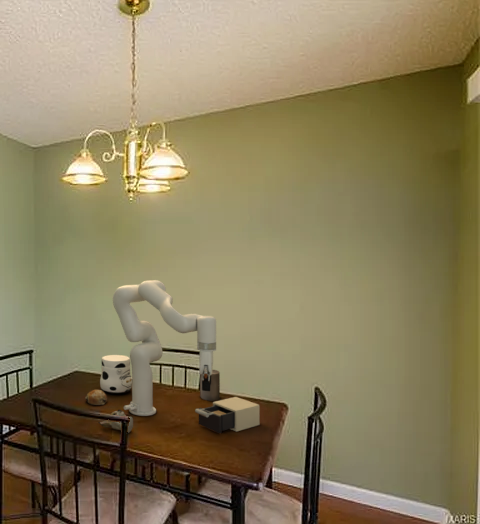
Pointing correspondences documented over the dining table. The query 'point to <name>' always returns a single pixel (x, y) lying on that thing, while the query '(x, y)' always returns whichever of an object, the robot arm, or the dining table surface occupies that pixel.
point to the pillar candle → (211, 387)
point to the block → (219, 412)
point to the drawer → (216, 418)
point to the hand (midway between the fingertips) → (206, 387)
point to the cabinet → (241, 412)
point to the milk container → (116, 374)
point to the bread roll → (96, 397)
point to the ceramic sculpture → (116, 424)
